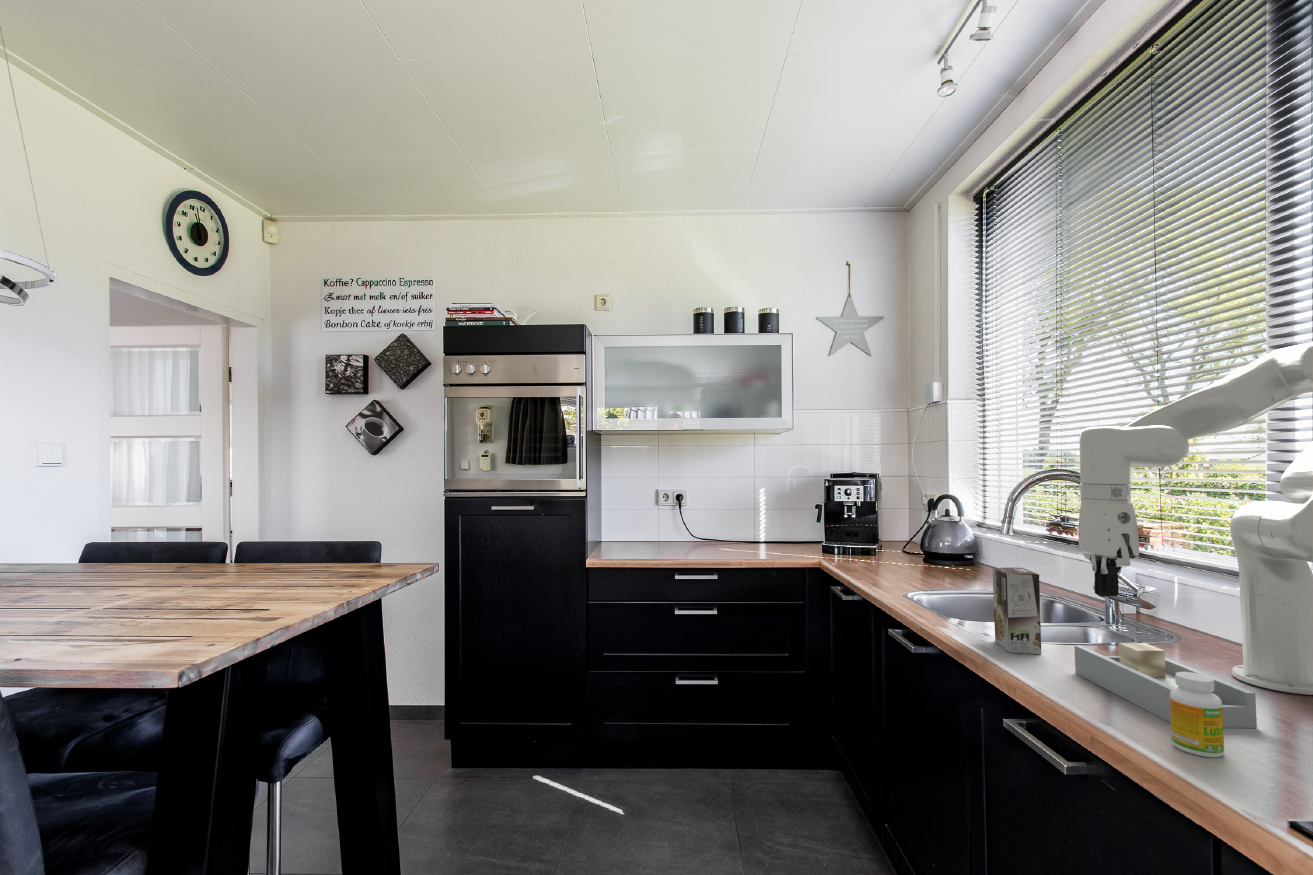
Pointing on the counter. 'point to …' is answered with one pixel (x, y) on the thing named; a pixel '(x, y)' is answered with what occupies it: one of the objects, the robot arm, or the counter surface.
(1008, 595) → the coffee box
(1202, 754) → the supplement bottle
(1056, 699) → the counter surface
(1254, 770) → the counter surface
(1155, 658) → the block
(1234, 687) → the box
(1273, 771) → the counter surface
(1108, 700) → the counter surface
